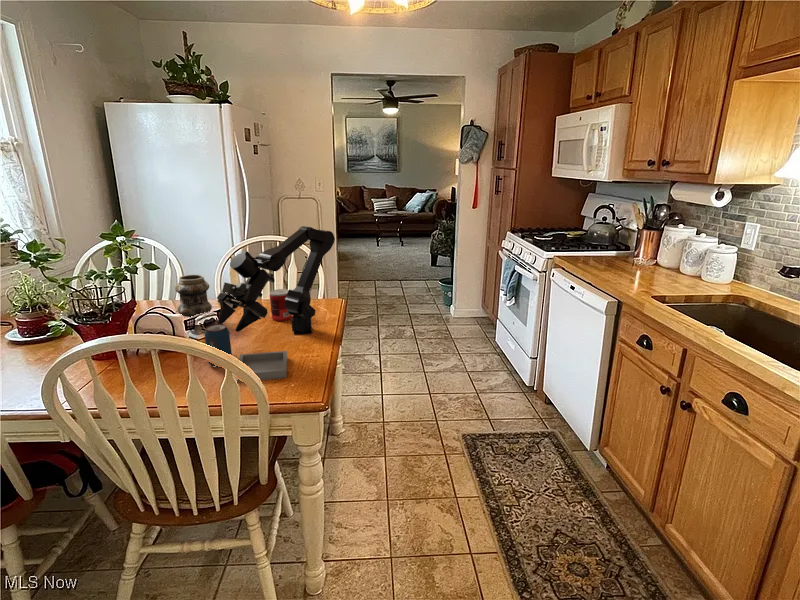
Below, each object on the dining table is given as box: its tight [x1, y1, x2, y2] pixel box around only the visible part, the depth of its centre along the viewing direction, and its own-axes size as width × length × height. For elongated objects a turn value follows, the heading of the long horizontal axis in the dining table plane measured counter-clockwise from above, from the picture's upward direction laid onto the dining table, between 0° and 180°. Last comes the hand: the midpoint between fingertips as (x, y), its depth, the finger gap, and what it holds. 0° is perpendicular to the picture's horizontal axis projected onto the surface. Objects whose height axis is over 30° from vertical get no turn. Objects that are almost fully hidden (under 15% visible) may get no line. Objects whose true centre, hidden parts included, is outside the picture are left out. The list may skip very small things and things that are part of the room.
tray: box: [237, 350, 288, 383], centre depth 135 cm, size 14×14×2 cm
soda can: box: [204, 323, 233, 368], centre depth 138 cm, size 7×7×12 cm
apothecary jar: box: [174, 274, 213, 318], centre depth 172 cm, size 12×12×18 cm
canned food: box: [269, 288, 293, 322], centre depth 178 cm, size 8×8×11 cm
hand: (227, 328), depth 139 cm, fingers open, 9 cm apart
